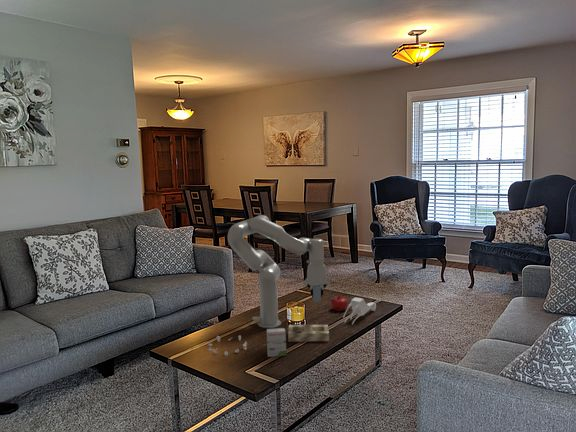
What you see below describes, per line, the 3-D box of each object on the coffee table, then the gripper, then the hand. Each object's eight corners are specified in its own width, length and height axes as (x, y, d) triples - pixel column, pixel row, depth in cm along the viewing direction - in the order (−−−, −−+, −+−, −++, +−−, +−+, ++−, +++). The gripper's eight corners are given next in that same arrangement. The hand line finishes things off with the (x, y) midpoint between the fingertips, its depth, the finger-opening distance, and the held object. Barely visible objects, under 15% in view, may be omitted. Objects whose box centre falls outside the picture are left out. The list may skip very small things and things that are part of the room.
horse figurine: (357, 340, 251) (379, 309, 269) (350, 314, 244) (373, 284, 262) (348, 337, 254) (371, 307, 272) (341, 312, 247) (365, 282, 265)
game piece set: (203, 343, 227) (203, 336, 226) (242, 337, 234) (242, 330, 233) (211, 359, 209) (210, 351, 208) (253, 352, 215) (253, 344, 215)
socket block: (288, 341, 226) (288, 333, 226) (289, 332, 238) (288, 324, 237) (329, 341, 225) (329, 332, 225) (327, 332, 237) (327, 324, 237)
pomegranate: (351, 309, 273) (351, 293, 272) (341, 313, 266) (340, 297, 265) (337, 305, 280) (337, 290, 279) (327, 309, 273) (327, 294, 271)
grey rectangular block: (313, 301, 241) (313, 286, 240) (313, 299, 245) (312, 284, 244) (320, 301, 241) (320, 286, 240) (320, 299, 245) (320, 284, 244)
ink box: (285, 351, 214) (284, 327, 213) (286, 356, 209) (285, 331, 208) (267, 352, 213) (266, 328, 212) (267, 357, 208) (266, 332, 207)
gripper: (300, 264, 237) (301, 298, 239) (333, 263, 236) (333, 298, 238) (300, 261, 244) (301, 294, 246) (332, 260, 244) (332, 294, 246)
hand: (316, 296), depth 242 cm, fingers closed on grey rectangular block, 4 cm apart
